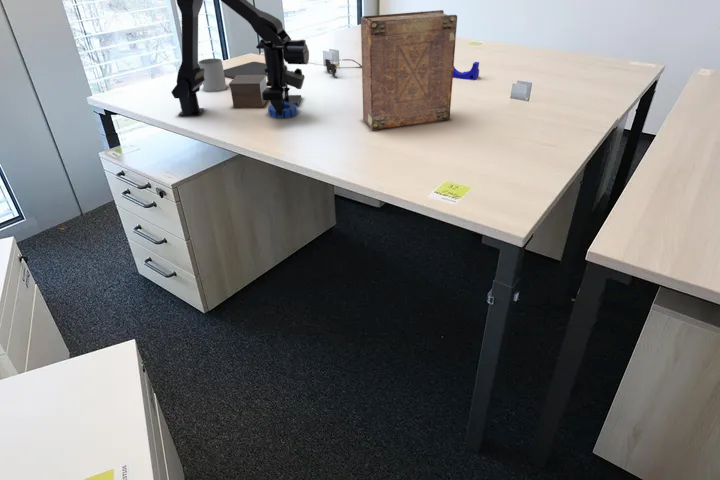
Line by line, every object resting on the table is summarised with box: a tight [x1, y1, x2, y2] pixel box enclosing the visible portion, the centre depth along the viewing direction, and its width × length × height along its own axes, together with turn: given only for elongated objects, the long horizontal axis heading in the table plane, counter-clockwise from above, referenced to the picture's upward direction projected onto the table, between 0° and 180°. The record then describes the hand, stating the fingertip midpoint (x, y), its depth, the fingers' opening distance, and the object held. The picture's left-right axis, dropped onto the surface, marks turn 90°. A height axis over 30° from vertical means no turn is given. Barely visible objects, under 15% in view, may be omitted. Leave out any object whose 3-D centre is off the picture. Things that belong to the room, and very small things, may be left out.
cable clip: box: [453, 61, 480, 81], centre depth 186 cm, size 12×4×6 cm, turn 62°
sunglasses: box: [324, 58, 362, 78], centre depth 196 cm, size 14×16×5 cm
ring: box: [267, 102, 298, 119], centre depth 157 cm, size 9×9×2 cm
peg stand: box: [270, 84, 302, 108], centre depth 165 cm, size 9×9×8 cm
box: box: [228, 75, 268, 109], centre depth 165 cm, size 10×10×8 cm
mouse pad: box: [223, 61, 267, 79], centre depth 202 cm, size 23×20×1 cm
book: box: [360, 9, 458, 131], centre depth 141 cm, size 25×9×30 cm, turn 107°
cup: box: [198, 58, 227, 93], centre depth 180 cm, size 8×8×10 cm
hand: (280, 113), depth 154 cm, fingers closed on ring, 2 cm apart
